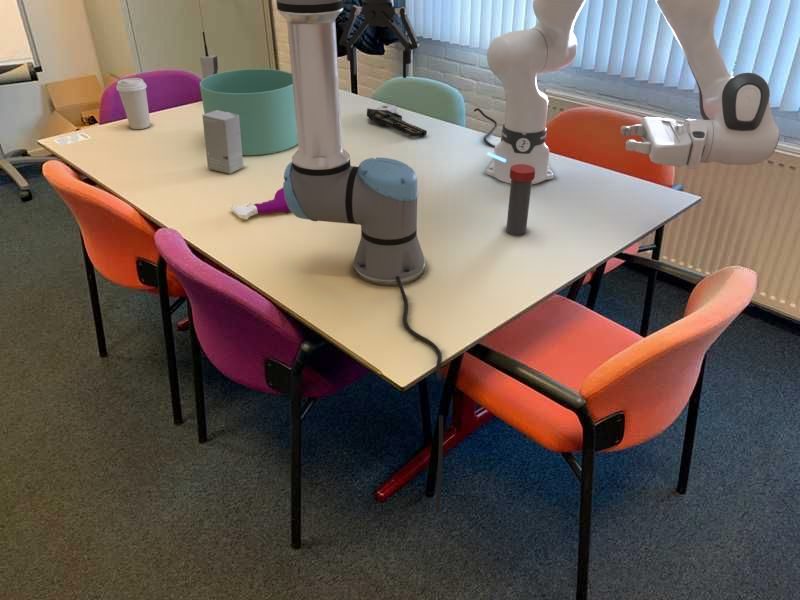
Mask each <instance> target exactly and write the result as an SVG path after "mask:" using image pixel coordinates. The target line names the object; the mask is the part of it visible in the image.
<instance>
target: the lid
mask: <svg viewBox="0 0 800 600" xmlns="http://www.w3.org/2000/svg"><path fill="white" fill-rule="evenodd" d="M534 177H535V168H534V167H532V166H530V165H525V164H517V165H513V166H511V169H510V178H511V179H512V180H514V181H517V182H529V181H532V180H533V179H534Z"/></svg>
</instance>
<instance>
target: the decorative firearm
mask: <svg viewBox="0 0 800 600" xmlns="http://www.w3.org/2000/svg"><path fill="white" fill-rule="evenodd" d="M397 110H398V107H397V105H393V104H388V103H385V104H382V105H379V106H378V107H376V108H369V107H367V108H366V117H367V118H368V119H369V120H370V121H373V122H374V123H377V124H379V125H382V126H383V127H384V126H389V127H391V128H393V129H395V130H397V131H399V132H401V133H404V134H406V135H408V136H411V137H415V138H416V137H419V138H424V137H426V136H427V132H428V130H426V129H423V128H421V127H420V126H416V125H413V124H411V123H409V122H406V121H405V120H403V115H401V114H399V113H397Z"/></svg>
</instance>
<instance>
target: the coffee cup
mask: <svg viewBox="0 0 800 600" xmlns="http://www.w3.org/2000/svg"><path fill="white" fill-rule="evenodd" d="M115 87H116V91H118V94H119V97H120V99H121V103H122V106H123V109H124V112H125V115H126V118H127V121H128V125H129V127H130V129H132V130H142V129H147V128H149V127H151V118H150V111H149V110H150V109H149V104H148V94H147V87H148V85H147V83H146V82H145V81H144V79H143V78H140V77H129V78H128V77H127V78H123V79H120V80H118V81H117V84H116V86H115Z"/></svg>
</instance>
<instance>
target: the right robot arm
mask: <svg viewBox="0 0 800 600" xmlns="http://www.w3.org/2000/svg"><path fill="white" fill-rule="evenodd" d="M586 1H587V0H533V1H532V9H533V13H534V16H535V17H536V19H537V20H538V21H537V22H536V25H534V26H533V28H528V29H522V30H514V31H508V32H507V33H504V34H502V35H499V36H497V37H495V38H493V39H492V40H491V41H490V43H489V45H488V49H487V53H486V61H487V65H488V68H489V70H490V71H491V73H492V74H493V75H494V76H495V77H497V78H498V79H499V81H500V83H501V85H502V88H503V91H504V96H505V97H504V98H505V111H504V124H502V129H501V138H500V142H498V143H497V144H496V145H494V144H492V143H491V142H489V140H488V139H487V138H488V137H489V136H491V135H492V133H494V131H495V130H496V128H497V127H498V123H497V121H496V120H495V119H494V118H492V117H490V116H488V115H487V114H485V113H484V111H482V110H481V109H480V108H478V107H476V108H474V110H473V112H474V113H475V112H477V111H478V112H479V113H480V114H481V115H482V117H484V118H486V119H487V120H489V121H491V122H492V123H493V124H494V126H493V127H492V128H491V130H490V131H489V132H487V133H486V134H485V135H484V136H483V141H484V143H485V144H486V145H487V146H489V147H490V148H491V147H492V148H494V150H493V151H494V152H493V153H492V152H490V151H488V152H487V156H490V157H492V158H493V160H492V161H491V163H490V164H489V166H488V167H487V169H486V171H485V174H486V175H488V176H490V177H493V178H495V179H496V180H498V181H500V182H503V183H506V184H509V185H511V178H510V169H511V166H513V165H517V164H525V165H530V166H532V167H534V168H535V177H534V179H533V180H532V185H536V184H539V183H542V182H545V181H547V180H553V179H554V173H553V170H552V169H551V168H550V166H549V161H550V148H549V147H548V145H546V139H547V133H548V132H547V130H548V129H547V127H546V125H547V117H548V109H549V108H548V107H549V99H548V96H547V94H545V93H544V92H543V91H542V90H540V89H539V88H538V84H537V76H538V75H541V74H545V73H546V74H547V73H553V72H556V71H559V70H561V69H563V68H565V67H568V66H570V64H572V63H573V62H574V60H575V58H576V56H577V53H578V41H577V37H576V35H575V33H574V26H575V23H576V20H577V19H578V16H579V14H580V13H581V10H582V9H583V7H584V5H585V3H586ZM655 3H656V5H657V7H658V9H659V10H660V12H661V14H662V16H663V17H664V19H665V21H666V23H667V24H668V27H670V29H671V31H672V33H673V34H674V37H675V38H676V40H677V42H678V44H679V46H680V48H681V50H682V53H683V55H684V58H685V60H686V62H687V65H688V67H689V69H690V72H691V74H692V76H693V78H694V81H695V83H696V86H697V90H698V95H699V96H698V97H699V98H698V99H699V111H700V115H701V117H702V119H696V118H686V119H685V120H684V121H683V123H682V124H679V122H678V121H677V120H676V119H671V118H664V117H663V118H662V117H653V116H652V117H651V116H646V117H643V118H641V121H640V123H637V124H636V123H635V124H632V125H622V126H621V127H620V135H621V136H622V137H629V136H634V135H635V136H638V137H639V136H640V137H641V140H642V141H637V140H635V139H626V140H625V145H624V147H625V150H626V151H629V152H630V151H631V152H636V153H640V154H643V155H648V157H649V159H650V162H652V163H653V164H656V165H661V166H670V167H685V168H686V169H688V170H697V169H698V168H699V166H700V164H709V163H719V164H722V165H731V166H750V165H751V166H752V165H758V164H762V163H764V162H766V161H767V160H768V159H770V158H771V156H772V155H773V153H774V152H775V151H776V150H777V149H776V148H777V146H778V144H779V141H780V129H779V128H780V127H779V126H778V125H777V123H776V121H774V117H773V114H772V111H771V110H772V109H771V104H770V103H771V102H770V97H771V94H770V87H769V84H768V82H767V81H766V80H765V79H764V78H763V77H762V76H761V75H759V74H756V73H753V72H742V73H739V74H736V75H733V76H732V75H731V74H730V73H729V71H728V69H727V66H726V63H725V62H724V59H723V57H722V55H721V51H720V50H719V48H718V47H719V46H718V45H717V43H716V39H715V33H714V32H715V29H714V28H715V22H716V18H717V15H718V12H719V8H720V5H721V0H655Z"/></svg>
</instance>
